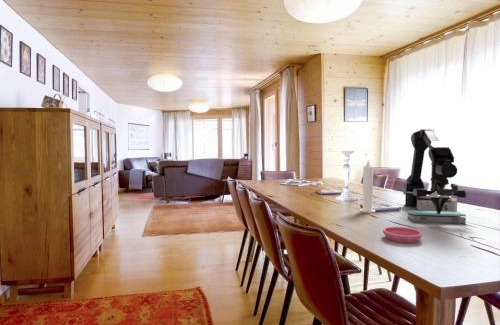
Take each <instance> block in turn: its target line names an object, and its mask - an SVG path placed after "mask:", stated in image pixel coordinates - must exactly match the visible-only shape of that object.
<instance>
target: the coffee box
mask: <svg viewBox="0 0 500 325" xmlns="http://www.w3.org/2000/svg"><path fill="white" fill-rule="evenodd" d="M427 196H428V195H426V196H425V197H423V196H419V197H417V207H416V211H436V209H435V207H434V204H433V202H432V201H431V199H430V198H428V197H427ZM450 198H451V199H448V200H447V201H446V202H445V204H444V206H443V208H442V210H441V211H445V212H458V197H456V198H455V197H450Z"/></svg>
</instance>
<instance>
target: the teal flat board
mask: <svg viewBox="0 0 500 325" xmlns="http://www.w3.org/2000/svg"><path fill="white" fill-rule="evenodd" d="M407 218H408V219H409V220H410V221H411V222H413V223H431V224H432V223H433V224H434V223H437V224H458V225H459V224H461V225H466V224H467V223H466V222H467V220H466V219H467V218H466V217H465V216H435V215H413V214H411V213H409V212H408V211H407Z"/></svg>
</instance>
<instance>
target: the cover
mask: <svg viewBox="0 0 500 325" xmlns="http://www.w3.org/2000/svg"><path fill="white" fill-rule="evenodd" d="M408 212H409V213H411V214H413V215H435V216H461V217H465V218H466V217H467V215H466V214H465V213H462V212H458V211H456V212H445V211H441V213H440V214H438V213H437V212H436V211H424V210H412V209H411V210H407V213H408Z"/></svg>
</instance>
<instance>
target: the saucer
mask: <svg viewBox="0 0 500 325" xmlns="http://www.w3.org/2000/svg"><path fill="white" fill-rule="evenodd" d="M382 233H383V234H384V236H385V237H386V239H387V240H389V241H392V242H394V241H395V242H396V243H399V242H400V243H401V244H414V243H417V242H418V241H419V240H420V239H421V238H422V237H423V232H421V231H420V230H418V229H414V228H409V227H403V226H388V227H384V228H382ZM395 242H394V243H395Z"/></svg>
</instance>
